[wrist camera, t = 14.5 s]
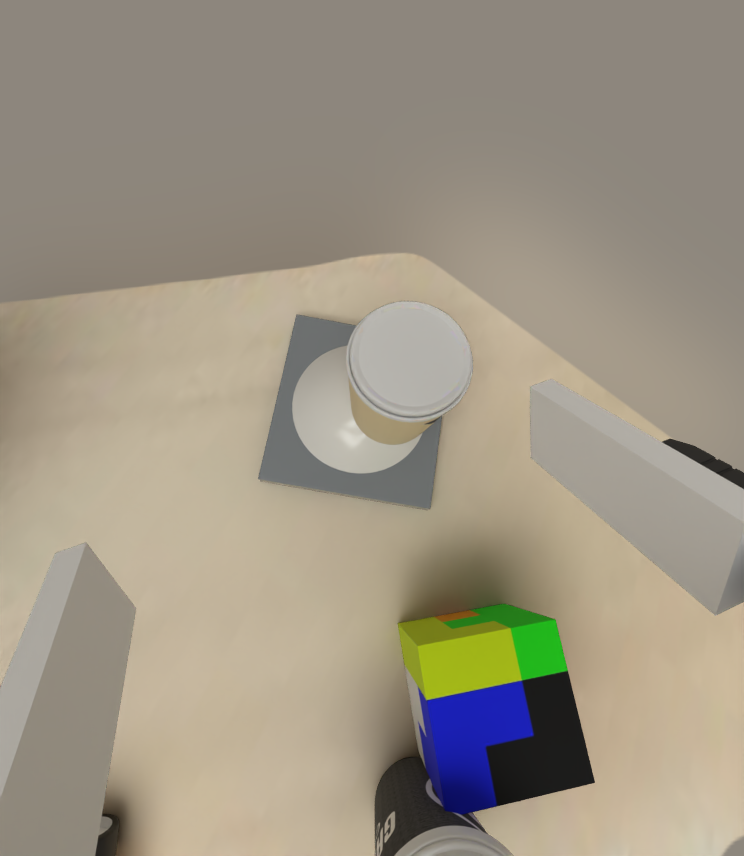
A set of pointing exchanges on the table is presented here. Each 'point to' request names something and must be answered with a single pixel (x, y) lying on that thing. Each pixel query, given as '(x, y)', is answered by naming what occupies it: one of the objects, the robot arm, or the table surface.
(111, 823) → the orange toy car
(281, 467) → the gray square plate
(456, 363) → the coffee cup
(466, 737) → the puzzle toy
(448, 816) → the coffee cup
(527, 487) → the table surface
